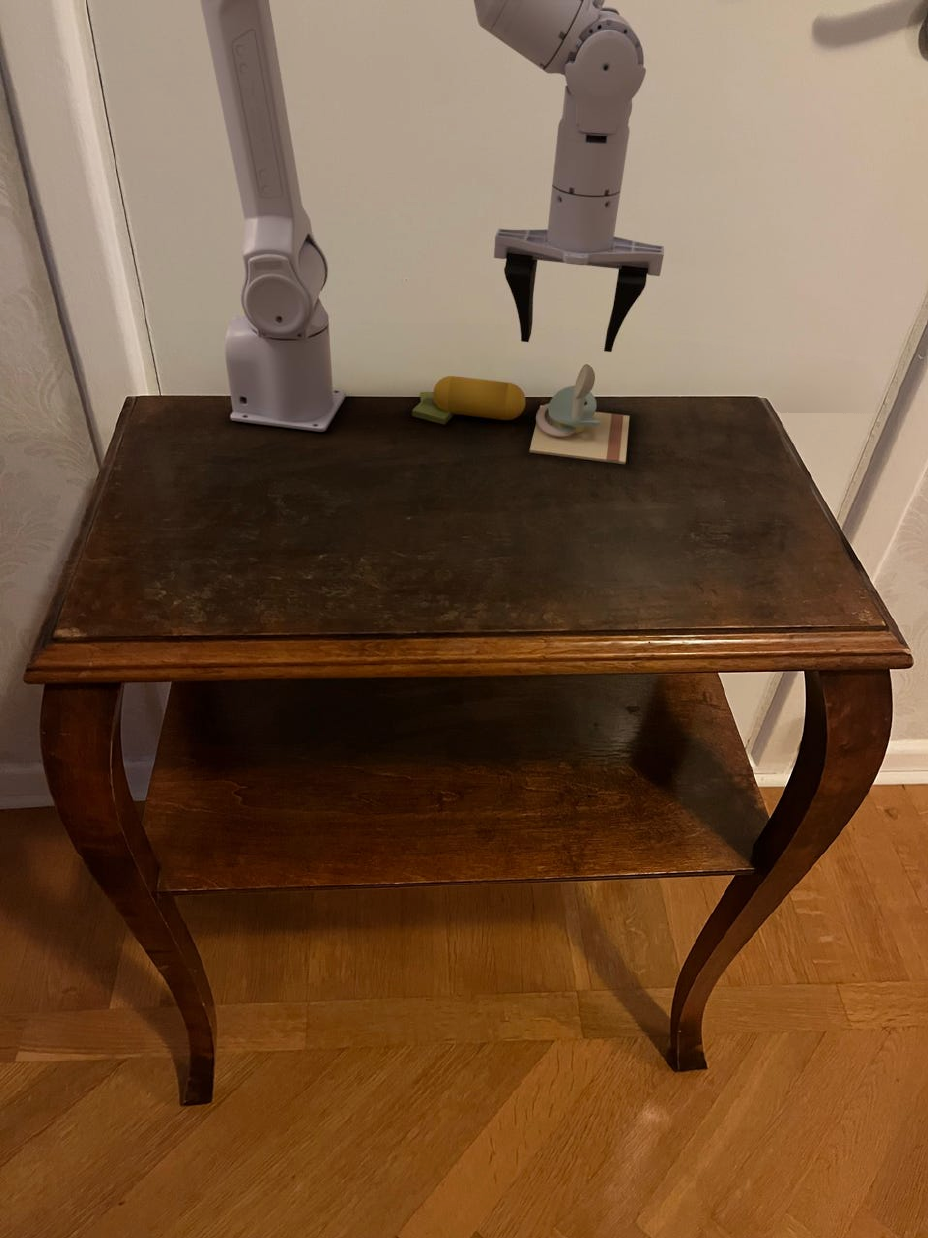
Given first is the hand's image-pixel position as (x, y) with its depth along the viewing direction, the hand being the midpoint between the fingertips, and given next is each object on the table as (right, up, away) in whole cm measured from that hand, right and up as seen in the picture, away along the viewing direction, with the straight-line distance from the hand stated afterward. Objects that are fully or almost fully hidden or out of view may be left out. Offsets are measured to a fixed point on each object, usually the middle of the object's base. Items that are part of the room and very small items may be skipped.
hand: (566, 342), depth 84 cm
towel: (+2, -8, +4) cm, 9 cm away
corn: (-9, -5, +6) cm, 12 cm away
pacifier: (0, -7, +5) cm, 8 cm away
